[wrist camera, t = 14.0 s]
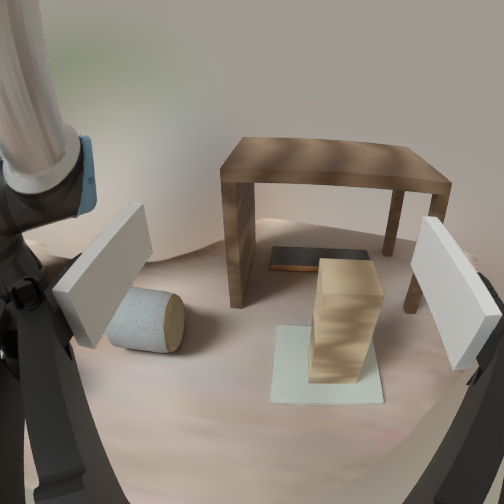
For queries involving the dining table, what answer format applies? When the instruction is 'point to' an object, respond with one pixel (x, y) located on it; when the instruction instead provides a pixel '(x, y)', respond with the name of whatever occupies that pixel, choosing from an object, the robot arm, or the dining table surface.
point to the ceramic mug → (148, 321)
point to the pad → (303, 393)
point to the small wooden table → (318, 173)
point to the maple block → (343, 319)
